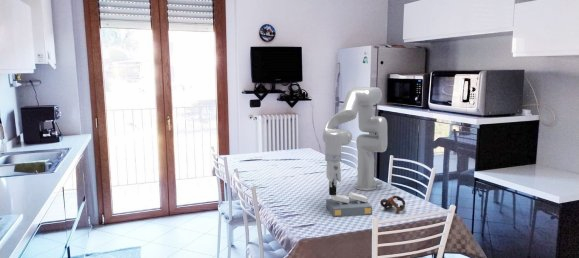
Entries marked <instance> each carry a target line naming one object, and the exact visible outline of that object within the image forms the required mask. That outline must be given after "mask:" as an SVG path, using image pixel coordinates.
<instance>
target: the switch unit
mask: <svg viewBox="0 0 579 258" xmlns="http://www.w3.org/2000/svg"><path fill="white" fill-rule="evenodd" d="M348 198H349V199H350V200H349V203H345V202H340V201H336V200H333V199H332V198H326V199H325V208H326V210H328V212H329V213H330V215H331V216H332V217H333V218H337V217H338V218H340V217H354V216H355V217H356V216H370V215H373V206H372V204H371V203H370V202H368V201H367V203H366V202H363V201H359V200H355V199H351V198H350V197H348Z"/></svg>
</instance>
